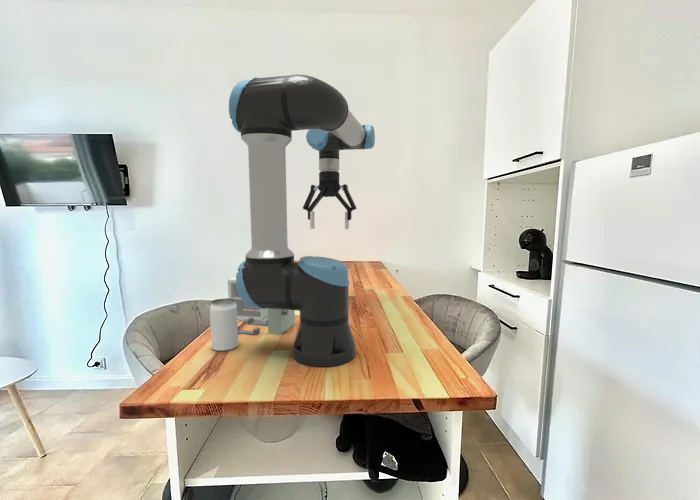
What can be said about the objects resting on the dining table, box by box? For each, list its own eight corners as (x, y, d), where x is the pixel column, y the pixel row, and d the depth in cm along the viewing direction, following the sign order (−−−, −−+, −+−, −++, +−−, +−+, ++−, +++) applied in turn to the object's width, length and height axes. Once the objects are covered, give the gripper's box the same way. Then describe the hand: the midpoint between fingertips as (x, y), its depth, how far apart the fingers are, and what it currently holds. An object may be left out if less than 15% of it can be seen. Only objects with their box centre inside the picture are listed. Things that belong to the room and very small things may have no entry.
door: (285, 334, 99) (284, 299, 98) (268, 333, 100) (267, 298, 99) (298, 323, 109) (297, 291, 107) (282, 322, 110) (282, 290, 109)
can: (229, 352, 86) (227, 305, 85) (206, 350, 87) (203, 303, 86) (242, 343, 92) (241, 298, 91) (220, 341, 94) (218, 297, 92)
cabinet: (256, 335, 98) (255, 289, 97) (208, 330, 102) (206, 286, 100) (284, 315, 116) (283, 277, 115) (242, 312, 120) (241, 275, 118)
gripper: (364, 171, 131) (363, 228, 133) (301, 173, 137) (302, 227, 139) (360, 169, 124) (359, 229, 126) (293, 171, 130) (294, 228, 132)
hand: (329, 228), depth 133 cm, fingers open, 13 cm apart
